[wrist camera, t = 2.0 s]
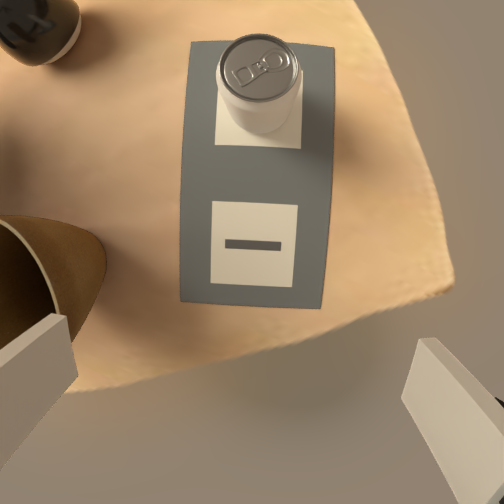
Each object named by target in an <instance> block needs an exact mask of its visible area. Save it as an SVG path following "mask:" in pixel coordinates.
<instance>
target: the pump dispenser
mask: <svg viewBox="0 0 504 504" xmlns="http://www.w3.org/2000/svg"><path fill="white" fill-rule="evenodd" d="M80 30H81V15H80V12H79V7H78V5H77V3H76V2H75V1H74V0H0V47H1V48H2V49H3V50H4V51H5V52H6V53H8V54H9V55H10V56H11V57H13V58H14V59H15V60H17V61H18V62H20V63H22V64H24V65H27V66H38V65H45V64H49V63H52V62H54V61H56V60H58V59H59V58H61V57H62V56H64V55H65V54H66V53H67V52H68V51H69V50H70V49H71V48H72V46H73V45H74V43H75V42H76V40H77V38H78V36H79V33H80Z"/></svg>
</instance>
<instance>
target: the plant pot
mask: <svg viewBox="0 0 504 504" xmlns="http://www.w3.org/2000/svg"><path fill="white" fill-rule="evenodd" d="M105 271H106V255H105V251H104V249H103V247H102V245H101V243H100V242H99V240H98V239H97V238H96V237H95V236H94V235H93V234H91V233H90V232H88V231H85V230H83V229H81V228H78V227H76V226H73V225H70V224H66V223H63V222H59V221H54V220H49V219H44V218H36V217H28V216H9V215H0V350H1V349H2V348H4V347H5V346H6V345H8V344H9V343H10V342H12V341H13V340H14V339H16V338H17V337H19V336H20V335H21V334H23V333H24V332H26V331H27V330H28V329H30V328H31V327H33V326H34V325H35V324H37V323H38V322H40V321H41V320H42V319H44V318H45V317H47V316H48V315H50V314H51V313H53V314H59V315H64V316H67V322H68V328H69V334H70V339H71V343H72V342H73V340H74V339H75V337H76V335H77V334H78V332H79V330H80V329H81V327H82V325H83V323H84V321H85V320H86V318H87V316H88V314H89V312H90V310H91V308H92V306H93V304H94V302H95V299H96V297H97V295H98V292H99V290H100V287H101V284H102V281H103V278H104V275H105Z"/></svg>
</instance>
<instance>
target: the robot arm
mask: <svg viewBox="0 0 504 504" xmlns="http://www.w3.org/2000/svg"><path fill="white" fill-rule="evenodd" d="M77 377H78V372H77V368H76V363H75V359H74V354H73V349H72V344H71V339H70V334H69V328H68V322H67V316H64V315H59V314H53V313H51V314H50V315H48V316H47V317H45V318H44V319H42V320H41V321H40V322H38V323H37V324H35V325H34V326H33V327H31V328H30V329H28V330H27V331H26V332H24V333H23V334H21V335H20V336H19V337H17V338H16V339H14V340H13V341H12V342H10V343H9V344H8V345H6V346H5V347H4V348H2V349H1V350H0V470H1V469H2V468H3V466H4V465H5V464H6V463H7V461H8V460H9V459H10V458H11V456H12V455H13V454H14V452H15V451H16V450H17V449H18V447H19V446H20V445H21V444H22V442H23V441H24V440H25V439H26V438H27V436H28V435H29V434H30V433H31V431H32V430H33V429H34V428H35V427H36V425H37V424H38V423H39V422H40V420H41V419H42V418H43V417H44V416H45V414H46V413H47V412H48V411H49V410H50V408H51V407H52V406H53V405H54V404H55V403H56V401H57V400H58V399H59V398H60V397H61V395H62V394H63V393H64V392H65V391H66V390H67V389H68V387H69V386H70V385H71V384H72V383H73V382H74V380H75V379H76V378H77ZM401 399H402V401H403V403H404V404H405V406H406V408H407V410H408V411H409V413H410V415H411V417H412V418H413V420H414V422H415V424H416V425H417V427H418V429H419V431H420V432H421V434H422V436H423V438H424V440H425V441H426V443H427V445H428V447H429V449H430V450H431V452H432V454H433V456H434V458H435V460H436V461H437V463H438V465H439V467H440V469H441V471H442V473H443V474H444V476H445V478H446V480H447V482H448V484H449V486H450V488H451V490H452V492H453V493H454V496H455V498H456V499H457V502H458V503H459V504H498V503H500V504H504V402H503V401H501V400H499V399H498V398H496V397H495V398H494V397H493V396H492V395H491V394H490V393H489V392H488V391H487V390H486V388H484V386H483V385H482V384H481V383H480V382H479V381H478V380H477V379H476V378H475V377H474V376H473V375H472V374H471V373H470V372H469V371H468V370H467V369H466V368H465V367H464V366H463V365H462V363H461V362H460V361H459V360H458V359H457V358H456V357H454V355H452V353H451V352H450V351H449V350H448V349H447V348H446V347H445V346H444V345H443V344H442V343H441V342H439V341H438V340H437V338H435V337H433V338H419V340H418V343H417V347H416V351H415V354H414V358H413V361H412V365H411V368H410V371H409V375H408V378H407V381H406V384H405V387H404V390H403V393H402V396H401Z"/></svg>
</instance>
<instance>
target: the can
mask: <svg viewBox="0 0 504 504" xmlns="http://www.w3.org/2000/svg"><path fill="white" fill-rule="evenodd" d="M301 79H302V72H301V67H300V64H299V61H298V59H297V57H296V55H295V53H294V51H293V50H292V48H291V47H290V46H289V45H288V44H287V43H285V42H284V41H283V40H281V39H279V38H277V37H275V36H272V35H268V34H250V35H246V36H243V37H240V38H238V39H236V40H235V41H233V42H232V43H231V44H229V45H228V46H227V48H226V49H225V50H224V52H223V53H222V55H221V58H220V60H219V63H218V65H217V70H216V81H217V85H218V88H219V91H220V93H221V96H222V98H223V100H224V102H225V105H226V107H227V109H228V111H229V113H230V115H231V117H232V119H233V120H234V122H235V123H236V124H237V125H238V126H239V127H241V128H242V129H244V130H246V131H248V132H252V133H267V132H271V131H273V130H275V129H277V128H278V127H280V126H281V125H282V124H283V123H284V122H285V120H286V119H287V117H288V115H289V113H290V111H291V108H292V106H293V104H294V101H295V99H296V96H297V94H298V91H299V88H300V85H301Z"/></svg>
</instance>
